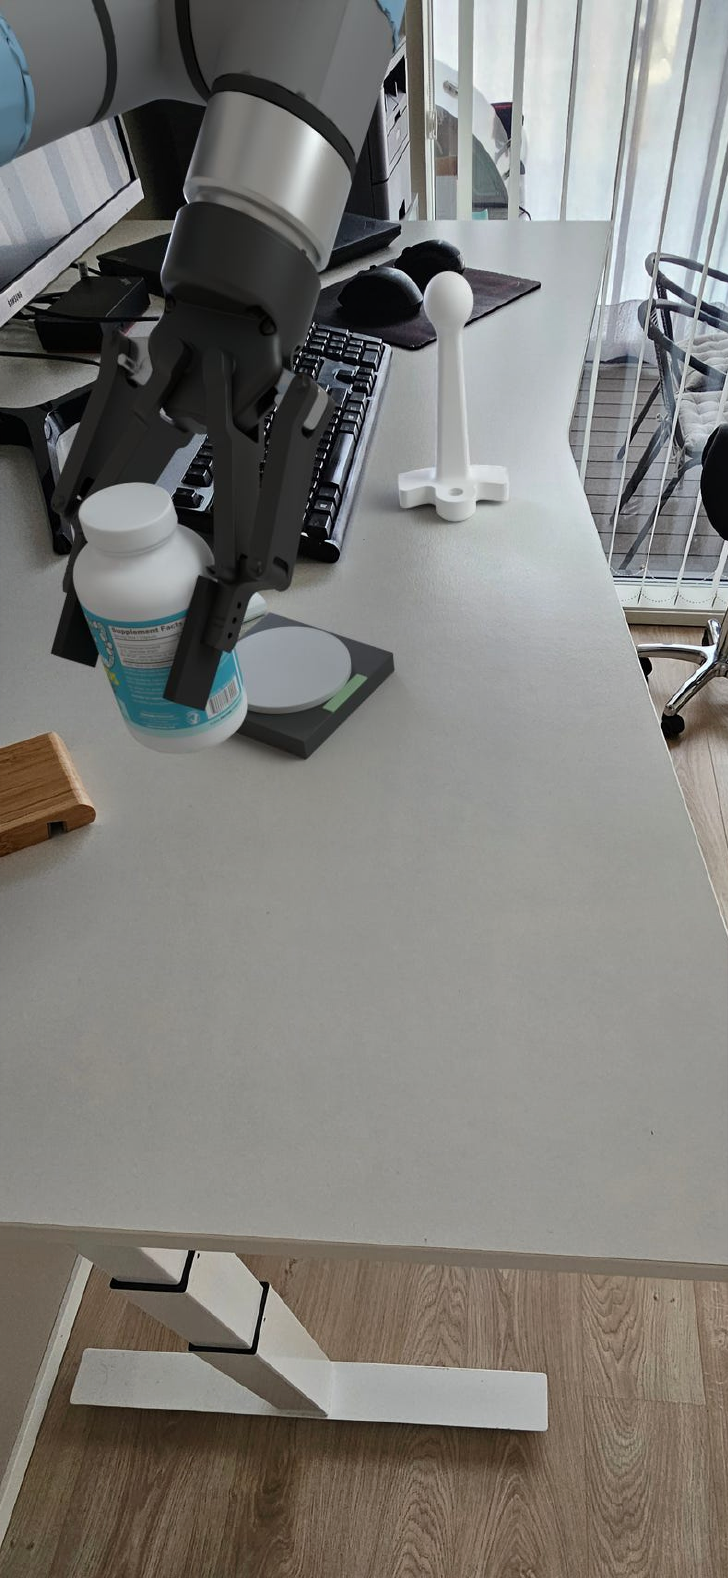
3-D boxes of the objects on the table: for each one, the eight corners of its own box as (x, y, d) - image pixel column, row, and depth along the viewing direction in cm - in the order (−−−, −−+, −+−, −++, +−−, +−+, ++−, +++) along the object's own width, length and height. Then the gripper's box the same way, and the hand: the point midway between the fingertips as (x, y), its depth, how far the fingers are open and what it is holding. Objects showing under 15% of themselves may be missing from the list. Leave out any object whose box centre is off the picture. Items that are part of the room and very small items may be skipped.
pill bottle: (140, 684, 62) (68, 470, 52) (256, 680, 62) (208, 465, 52) (117, 763, 58) (33, 546, 47) (242, 759, 58) (187, 540, 47)
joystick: (504, 483, 103) (507, 259, 88) (512, 519, 99) (518, 291, 83) (398, 490, 103) (383, 268, 88) (402, 527, 99) (386, 299, 83)
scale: (179, 710, 82) (171, 685, 80) (272, 629, 89) (268, 604, 87) (306, 759, 78) (302, 734, 76) (395, 670, 84) (392, 645, 82)
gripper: (454, 316, 50) (311, 751, 54) (150, 255, 57) (45, 646, 61) (390, 222, 43) (232, 729, 47) (52, 166, 50) (-58, 613, 54)
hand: (127, 681), depth 54 cm, fingers closed on pill bottle, 7 cm apart
